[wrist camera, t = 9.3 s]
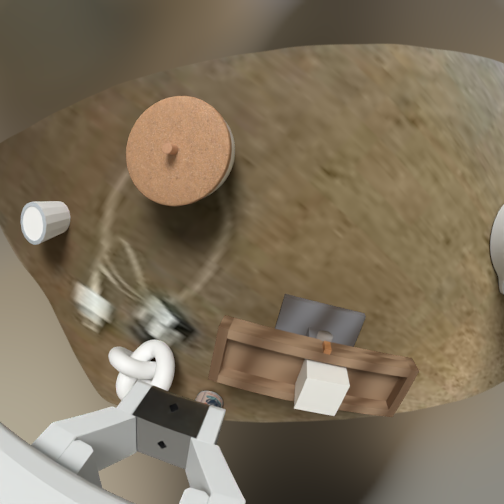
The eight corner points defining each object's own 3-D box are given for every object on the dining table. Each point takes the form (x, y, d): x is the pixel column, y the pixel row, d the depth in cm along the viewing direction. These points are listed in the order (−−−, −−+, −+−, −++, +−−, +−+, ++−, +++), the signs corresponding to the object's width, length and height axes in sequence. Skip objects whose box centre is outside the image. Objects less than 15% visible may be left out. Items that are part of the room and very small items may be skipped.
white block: (345, 362, 36) (349, 385, 31) (331, 390, 37) (334, 415, 32) (306, 353, 36) (307, 377, 31) (295, 383, 37) (294, 408, 32)
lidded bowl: (156, 199, 43) (116, 207, 33) (159, 114, 40) (119, 98, 30) (242, 201, 42) (223, 209, 31) (245, 109, 39) (228, 87, 28)
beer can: (229, 404, 50) (213, 452, 38) (208, 412, 51) (189, 458, 39) (212, 385, 49) (192, 432, 38) (192, 394, 50) (169, 439, 39)
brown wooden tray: (403, 322, 42) (425, 357, 32) (373, 384, 45) (385, 426, 35) (238, 281, 44) (222, 311, 34) (223, 350, 47) (205, 390, 37)
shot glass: (46, 197, 46) (19, 201, 39) (72, 197, 45) (45, 202, 39) (47, 235, 48) (21, 243, 41) (73, 238, 47) (47, 246, 40)
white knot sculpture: (188, 393, 51) (172, 426, 42) (129, 380, 52) (107, 408, 44) (184, 340, 48) (163, 370, 39) (120, 329, 50) (93, 353, 41)
